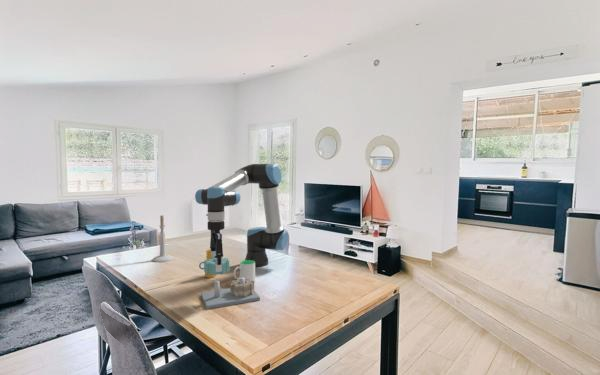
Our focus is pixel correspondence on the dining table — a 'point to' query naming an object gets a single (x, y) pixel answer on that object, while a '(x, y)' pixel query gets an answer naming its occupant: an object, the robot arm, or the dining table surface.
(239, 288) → the gear
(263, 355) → the dining table surface
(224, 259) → the gear
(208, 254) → the orange post with rings
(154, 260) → the candlestick
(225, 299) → the gear board
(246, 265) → the mug
